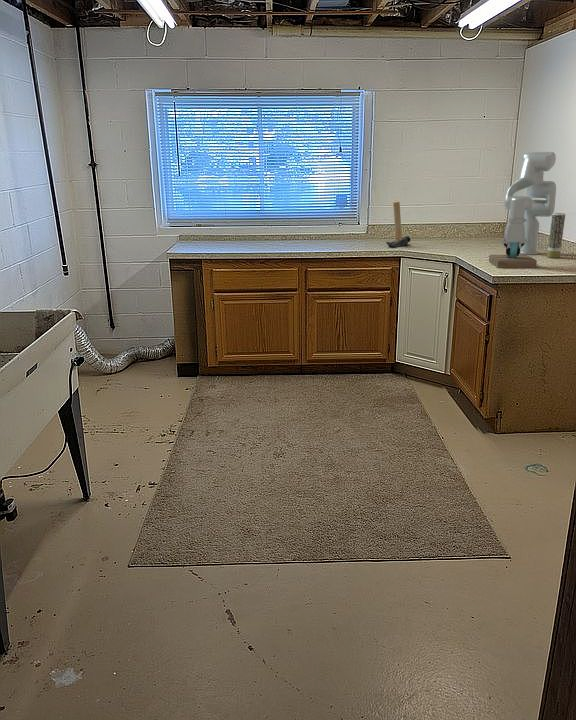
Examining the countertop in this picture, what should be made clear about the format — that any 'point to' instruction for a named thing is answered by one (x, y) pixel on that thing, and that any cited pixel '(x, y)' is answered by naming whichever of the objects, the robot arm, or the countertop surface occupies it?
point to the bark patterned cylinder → (556, 235)
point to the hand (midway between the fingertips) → (512, 255)
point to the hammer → (398, 228)
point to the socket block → (512, 261)
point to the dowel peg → (513, 250)
